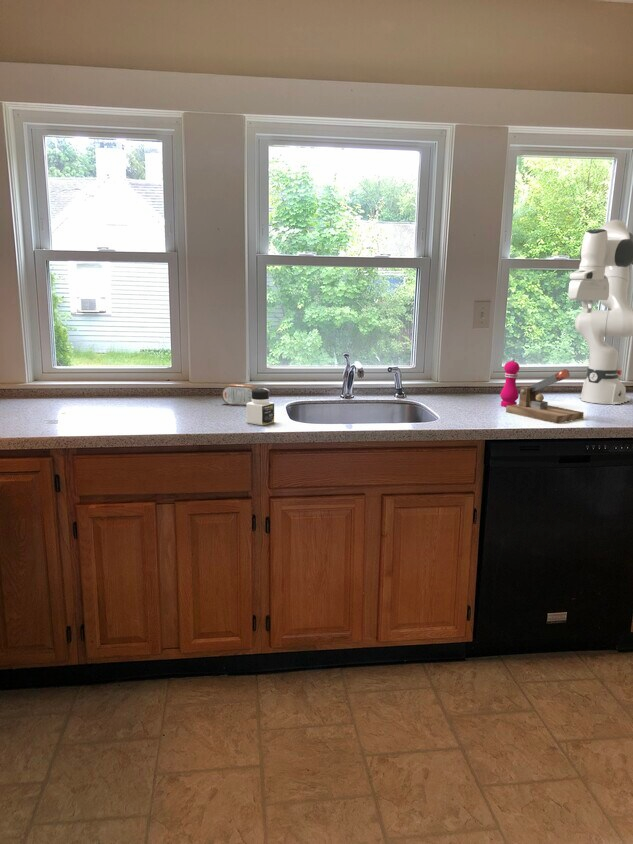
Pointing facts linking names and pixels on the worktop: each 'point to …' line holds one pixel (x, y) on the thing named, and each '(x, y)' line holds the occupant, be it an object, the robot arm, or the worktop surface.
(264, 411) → the medicine bottle
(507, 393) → the pepper mill
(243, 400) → the tin
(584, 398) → the robot arm
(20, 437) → the worktop surface
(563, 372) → the lever
